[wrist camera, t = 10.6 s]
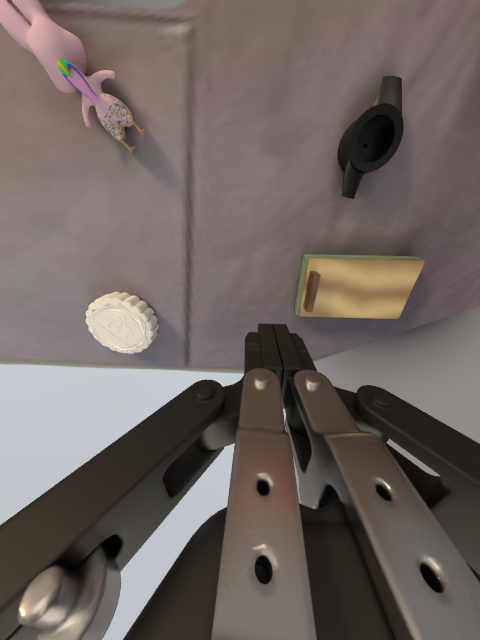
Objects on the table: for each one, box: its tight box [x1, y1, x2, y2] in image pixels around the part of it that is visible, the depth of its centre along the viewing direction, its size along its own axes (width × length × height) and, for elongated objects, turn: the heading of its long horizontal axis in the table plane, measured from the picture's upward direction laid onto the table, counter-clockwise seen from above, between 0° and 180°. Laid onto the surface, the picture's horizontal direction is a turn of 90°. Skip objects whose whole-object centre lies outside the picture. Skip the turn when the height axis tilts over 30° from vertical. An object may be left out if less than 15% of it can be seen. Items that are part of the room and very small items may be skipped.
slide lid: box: [299, 258, 425, 319], centre depth 29 cm, size 10×17×3 cm, turn 89°
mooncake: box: [86, 292, 159, 354], centre depth 35 cm, size 12×12×4 cm
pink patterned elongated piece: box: [0, 0, 146, 154], centre depth 19 cm, size 6×6×15 cm
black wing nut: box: [338, 76, 403, 199], centre depth 23 cm, size 8×10×3 cm
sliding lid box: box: [294, 254, 422, 315], centre depth 32 cm, size 10×17×2 cm, turn 89°
